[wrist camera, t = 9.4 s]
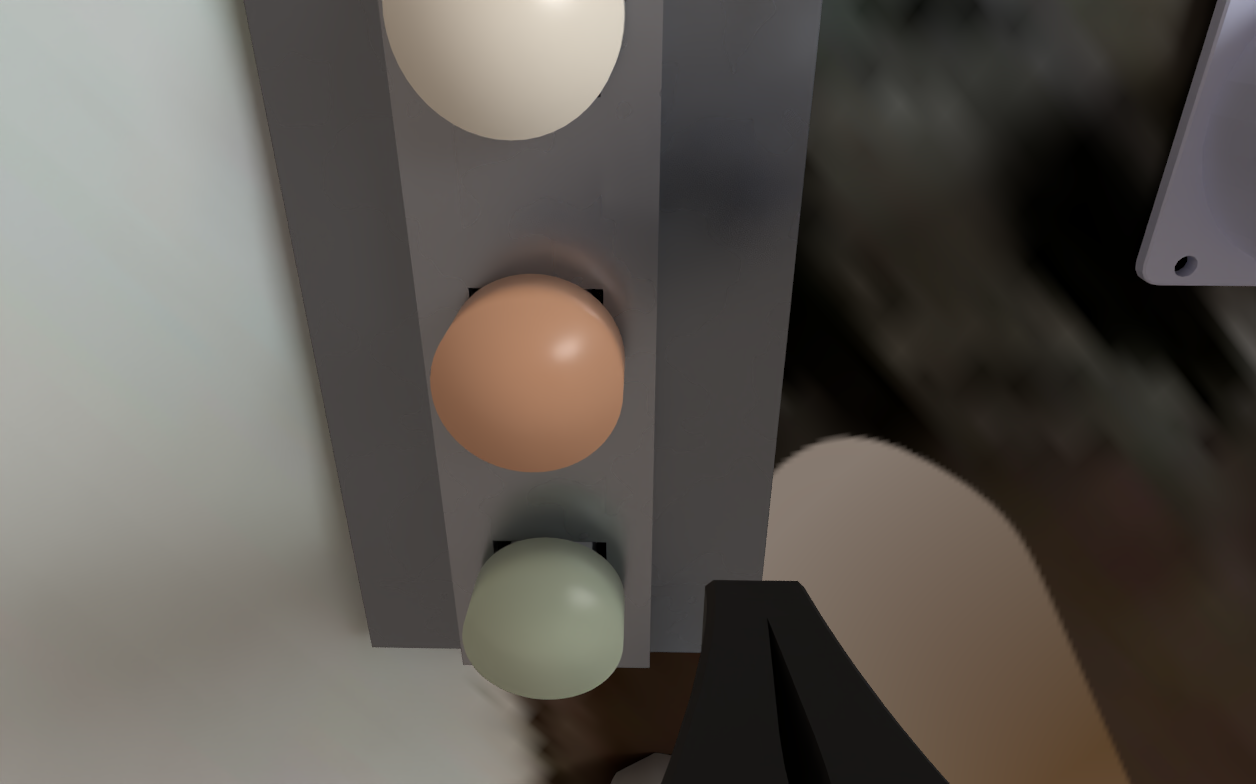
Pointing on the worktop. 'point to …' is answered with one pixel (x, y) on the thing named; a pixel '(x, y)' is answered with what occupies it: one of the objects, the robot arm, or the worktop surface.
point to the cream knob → (506, 59)
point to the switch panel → (699, 298)
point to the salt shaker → (644, 771)
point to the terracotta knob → (530, 374)
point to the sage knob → (546, 619)
